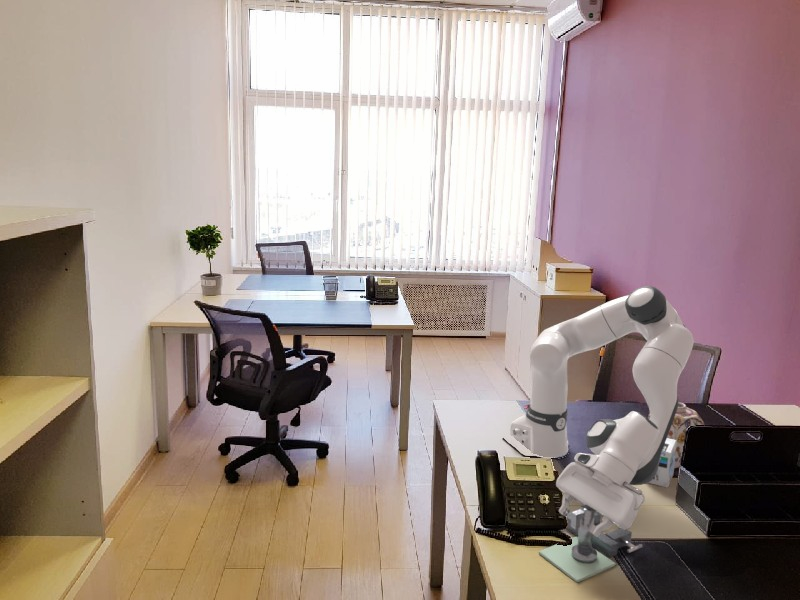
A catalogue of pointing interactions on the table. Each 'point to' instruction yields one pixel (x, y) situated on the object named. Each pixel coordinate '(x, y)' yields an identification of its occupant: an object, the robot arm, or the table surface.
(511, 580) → the table surface
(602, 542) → the vise
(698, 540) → the table surface
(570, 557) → the mat
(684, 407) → the decorative jar
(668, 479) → the light bulb box
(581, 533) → the grey tall rounded piece
